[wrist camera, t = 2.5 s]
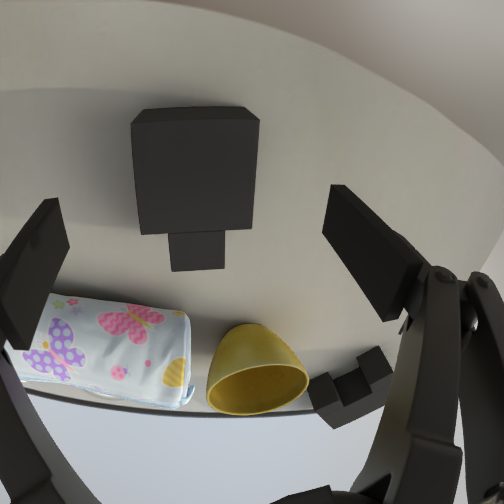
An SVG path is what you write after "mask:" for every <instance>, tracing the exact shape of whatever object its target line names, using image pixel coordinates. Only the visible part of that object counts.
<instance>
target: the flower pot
mask: <svg viewBox="0 0 504 504" xmlns="http://www.w3.org/2000/svg"><path fill="white" fill-rule="evenodd" d="M308 384H309V377H308V374H307V372H306V370H305V369H304V367H303V365H302V364H301V362H300V361H299V359H298V358H297V356H296V355H295V354H294V352H293V351H292V350H291V349H290V348H289V347H288V346H287V344H286V343H285V342H283V341H282V340H281V339H280V338H279V337H278V336H277V335H275V334H274V333H273V332H271V331H270V330H268V329H267V328H265V327H263V326H261V325H258V324H244V325H240V326H237V327H235V328H233V329H231V330H230V331H228V332H227V333H226V335H225V336H224V337H223V339H222V341H221V342H220V344H219V346H218V347H217V350H216V352H215V354H214V357H213V359H212V362H211V366H210V369H209V374H208V379H207V388H206V400H207V402H208V404H209V405H210V406H211V407H212V408H213V409H215V410H217V411H219V412H222V413H226V414H232V415H253V414H260V413H265V412H269V411H273V410H275V409H278V408H281V407H283V406H285V405H287V404H289V403H291V402H292V401H294V400H295V399H297V398H298V397H299V396H300V395H302V394H303V392H304V391H305V390H306V388H307V386H308Z"/></svg>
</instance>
